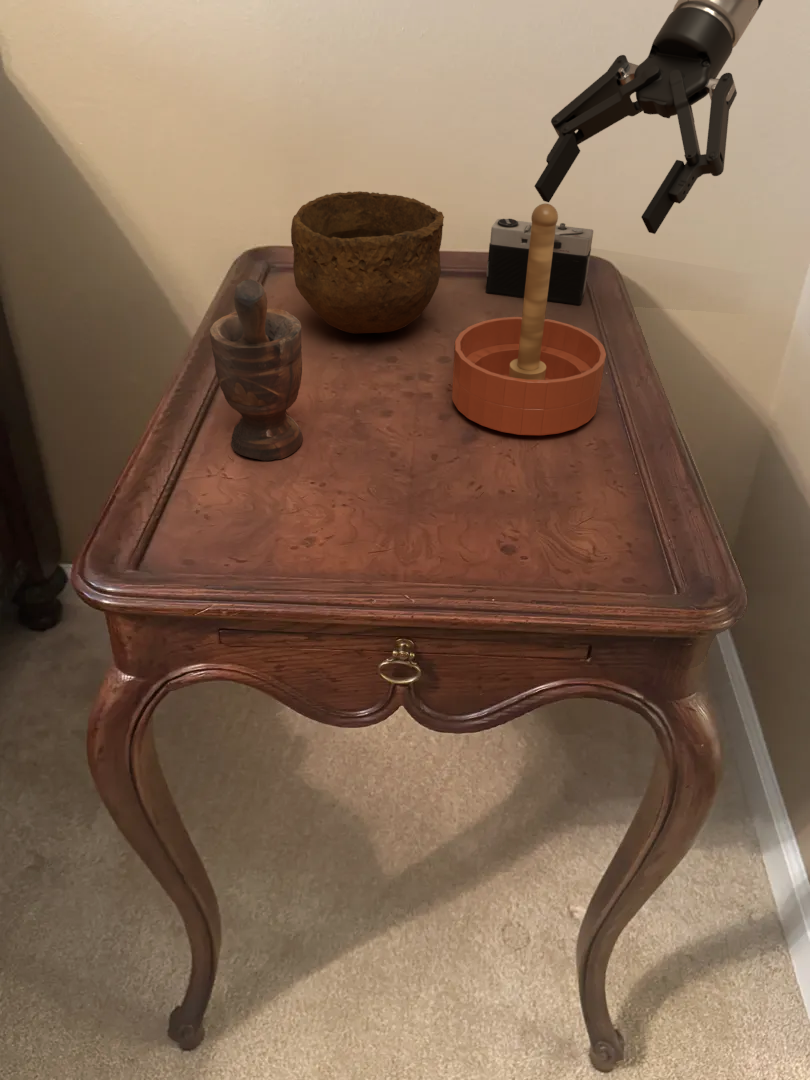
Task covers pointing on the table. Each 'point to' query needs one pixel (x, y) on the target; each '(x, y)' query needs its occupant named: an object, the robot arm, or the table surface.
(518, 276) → the camera
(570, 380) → the mixing bowl
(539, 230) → the muddler
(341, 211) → the bowl
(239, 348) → the mortar and pestle
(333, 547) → the table surface
